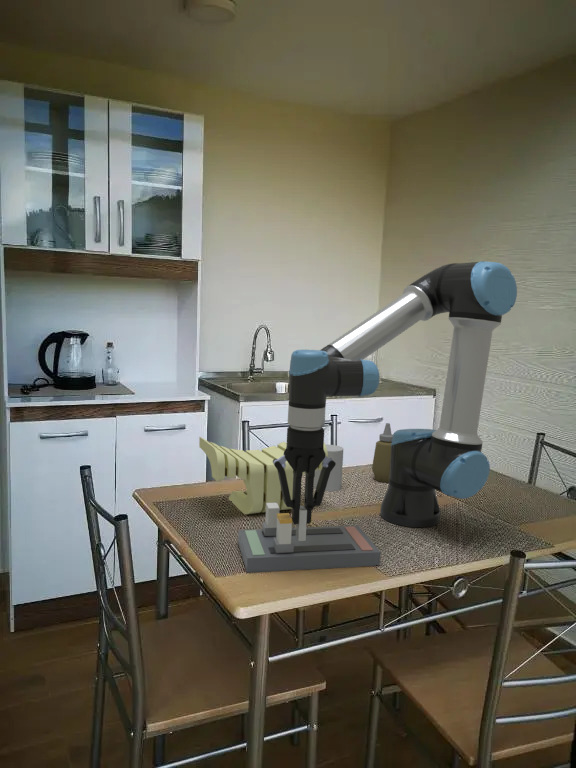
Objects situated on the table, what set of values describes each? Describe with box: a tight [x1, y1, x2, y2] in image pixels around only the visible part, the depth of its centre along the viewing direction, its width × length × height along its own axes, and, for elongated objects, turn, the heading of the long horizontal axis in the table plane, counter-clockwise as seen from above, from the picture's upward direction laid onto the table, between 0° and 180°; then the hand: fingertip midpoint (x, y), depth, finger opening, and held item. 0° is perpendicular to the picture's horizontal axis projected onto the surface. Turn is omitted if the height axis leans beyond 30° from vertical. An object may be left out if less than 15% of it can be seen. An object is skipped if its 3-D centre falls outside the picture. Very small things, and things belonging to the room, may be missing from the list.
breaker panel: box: [237, 503, 382, 573], centre depth 129 cm, size 28×15×10 cm, turn 101°
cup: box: [313, 444, 344, 493], centre depth 177 cm, size 8×8×12 cm
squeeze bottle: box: [371, 422, 393, 483], centre depth 186 cm, size 8×8×18 cm
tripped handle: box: [273, 512, 294, 553], centre depth 123 cm, size 4×4×7 cm
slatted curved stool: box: [198, 436, 328, 515], centre depth 158 cm, size 30×16×18 cm, turn 114°
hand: (300, 538), depth 124 cm, fingers closed
